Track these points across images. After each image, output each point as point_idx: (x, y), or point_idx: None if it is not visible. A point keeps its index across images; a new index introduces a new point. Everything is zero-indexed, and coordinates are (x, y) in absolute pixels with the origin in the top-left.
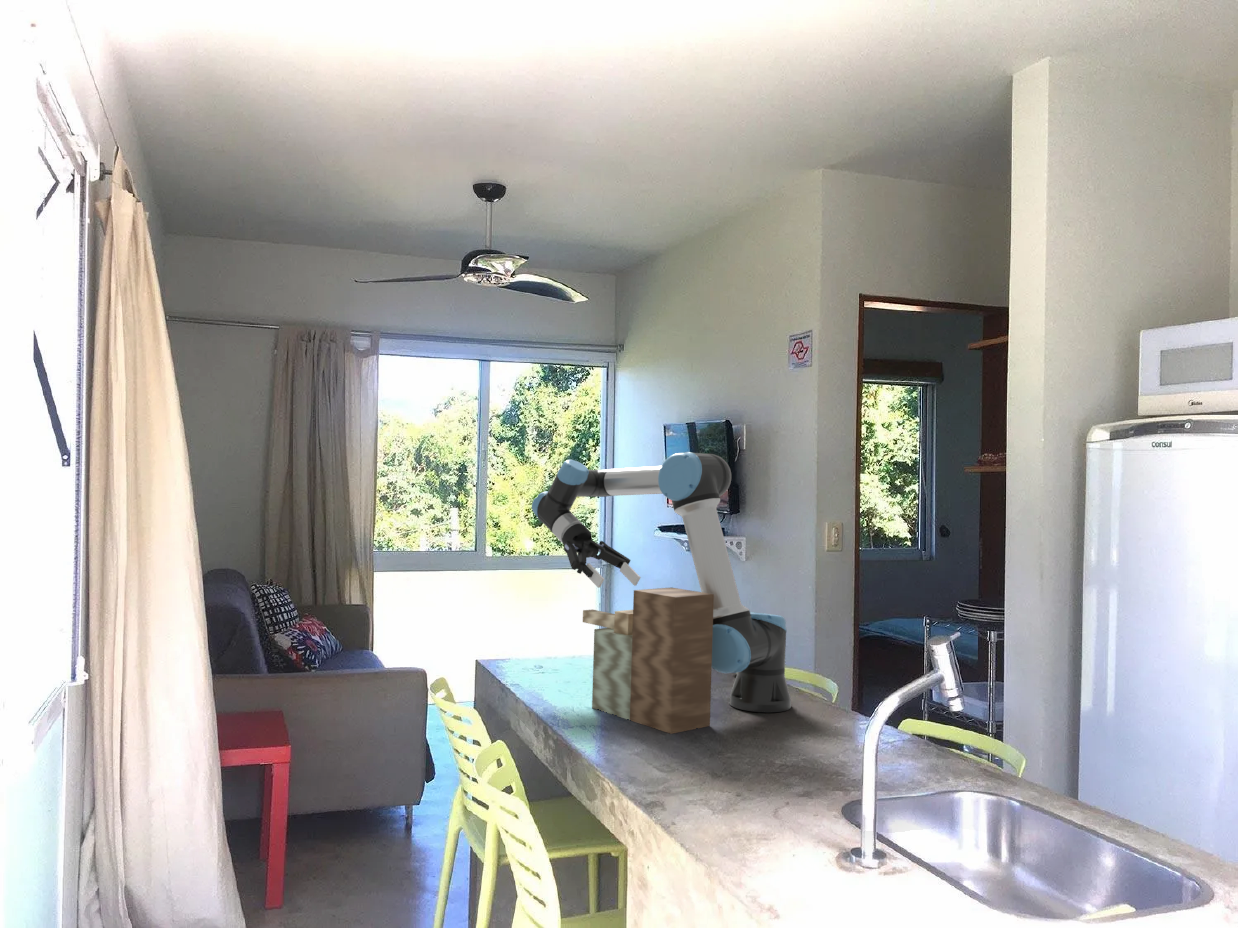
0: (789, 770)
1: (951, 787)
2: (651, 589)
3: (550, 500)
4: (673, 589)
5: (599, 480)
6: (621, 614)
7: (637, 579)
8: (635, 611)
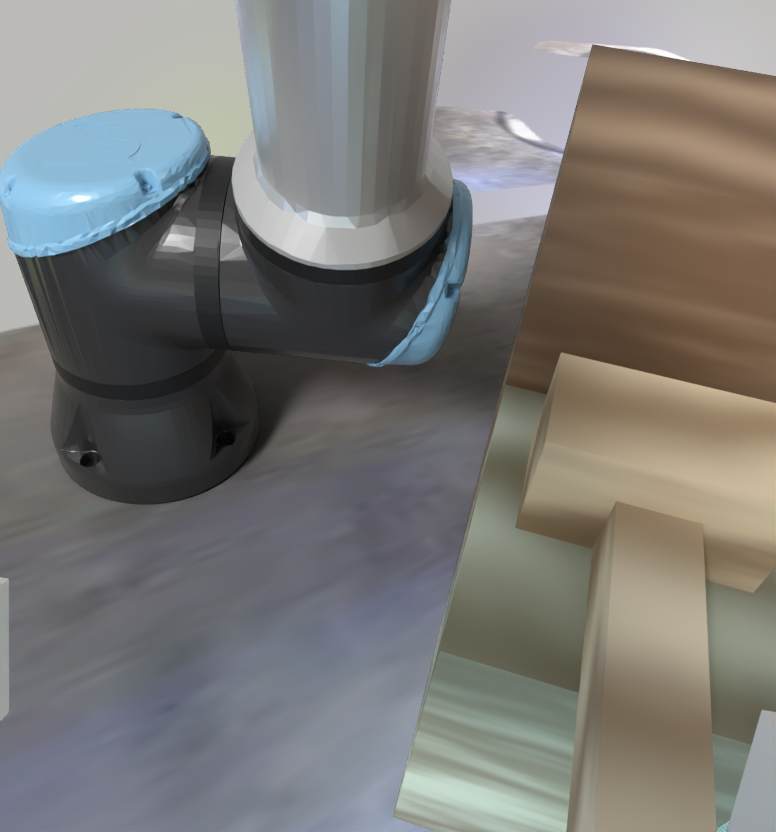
0: None
1: (515, 143)
2: (769, 193)
3: None
4: (635, 140)
5: None
6: None
7: (8, 617)
8: None
